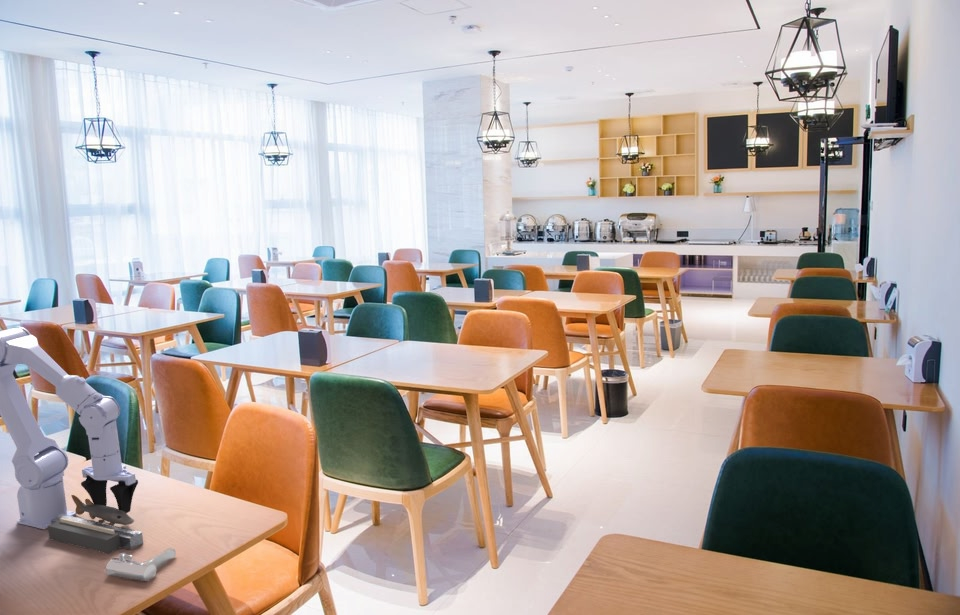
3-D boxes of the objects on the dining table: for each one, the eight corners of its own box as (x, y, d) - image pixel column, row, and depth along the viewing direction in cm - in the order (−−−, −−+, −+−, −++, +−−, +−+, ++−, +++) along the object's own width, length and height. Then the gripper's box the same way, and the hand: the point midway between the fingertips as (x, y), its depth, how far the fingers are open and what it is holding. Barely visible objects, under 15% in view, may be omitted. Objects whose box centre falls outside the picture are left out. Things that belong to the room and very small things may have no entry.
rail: (52, 530, 152) (50, 517, 152) (65, 524, 155) (63, 512, 155) (131, 550, 143) (129, 536, 142) (143, 543, 145) (141, 529, 145)
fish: (125, 537, 149) (121, 516, 147) (66, 518, 158) (61, 498, 157) (144, 526, 152) (140, 506, 151) (84, 509, 162) (80, 489, 161)
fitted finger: (49, 539, 149) (47, 522, 148) (61, 533, 151) (59, 516, 150) (108, 553, 141) (106, 536, 141) (120, 547, 144) (118, 530, 143)
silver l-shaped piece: (106, 578, 133) (144, 585, 130) (104, 556, 132) (142, 562, 129) (146, 555, 142) (182, 561, 139) (145, 534, 142) (181, 539, 139)
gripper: (144, 449, 155) (151, 507, 157) (98, 443, 161) (106, 498, 163) (116, 461, 149) (124, 521, 151) (70, 454, 155) (78, 511, 157)
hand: (113, 510), depth 157 cm, fingers open, 7 cm apart
